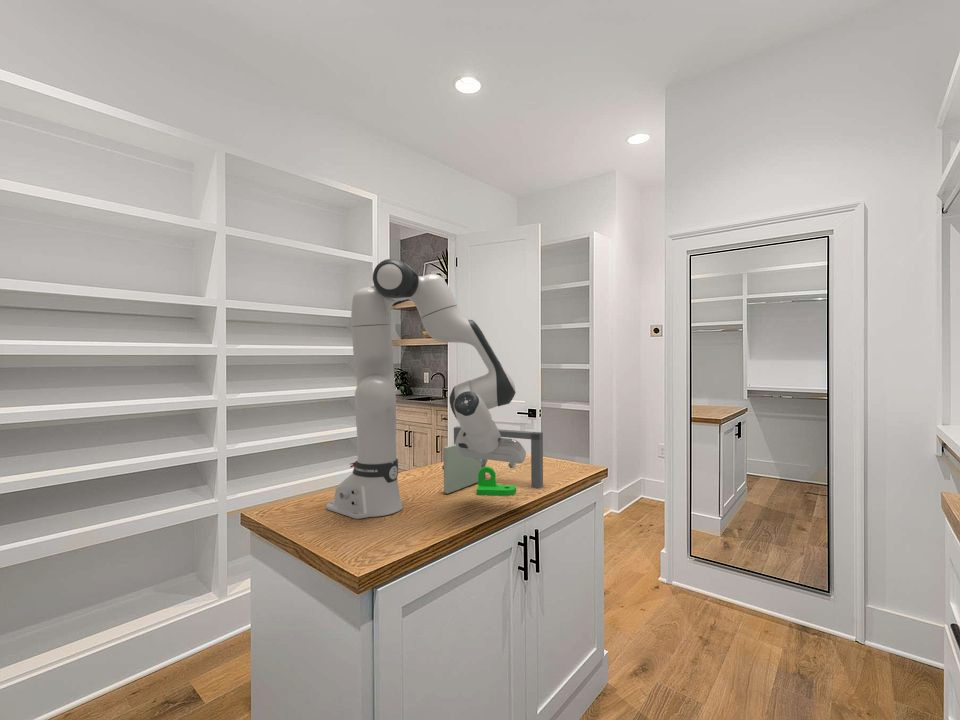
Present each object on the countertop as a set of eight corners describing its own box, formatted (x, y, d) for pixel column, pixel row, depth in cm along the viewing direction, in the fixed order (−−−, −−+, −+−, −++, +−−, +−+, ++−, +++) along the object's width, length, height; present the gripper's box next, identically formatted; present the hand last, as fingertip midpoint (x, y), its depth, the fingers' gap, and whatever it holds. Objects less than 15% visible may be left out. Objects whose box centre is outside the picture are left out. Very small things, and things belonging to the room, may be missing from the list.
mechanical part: (476, 495, 151) (476, 470, 151) (479, 490, 157) (478, 466, 157) (514, 497, 149) (514, 471, 149) (515, 491, 155) (515, 466, 155)
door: (474, 479, 167) (474, 438, 167) (481, 480, 166) (481, 439, 165) (440, 491, 153) (439, 446, 153) (447, 493, 151) (446, 447, 151)
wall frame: (454, 477, 172) (453, 427, 172) (458, 475, 175) (457, 426, 174) (540, 488, 157) (539, 433, 157) (543, 486, 160) (542, 432, 160)
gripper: (521, 431, 133) (533, 459, 142) (457, 425, 142) (472, 452, 151) (515, 450, 129) (528, 477, 138) (449, 443, 139) (465, 469, 147)
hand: (498, 464), depth 145 cm, fingers open, 8 cm apart
